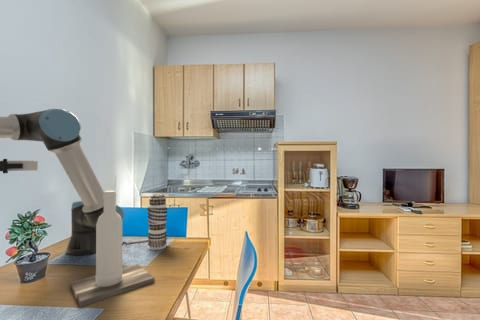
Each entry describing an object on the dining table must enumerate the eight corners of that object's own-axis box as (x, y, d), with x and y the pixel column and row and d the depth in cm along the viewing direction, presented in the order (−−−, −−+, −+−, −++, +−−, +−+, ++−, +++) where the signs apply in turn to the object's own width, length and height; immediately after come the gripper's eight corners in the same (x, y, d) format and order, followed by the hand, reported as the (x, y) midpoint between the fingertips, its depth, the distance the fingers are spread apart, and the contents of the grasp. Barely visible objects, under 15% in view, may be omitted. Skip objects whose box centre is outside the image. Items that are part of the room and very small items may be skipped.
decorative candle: (145, 250, 117) (146, 196, 117) (148, 244, 126) (148, 193, 126) (166, 249, 119) (167, 195, 119) (167, 242, 128) (167, 193, 128)
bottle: (110, 289, 80) (110, 193, 79) (89, 285, 82) (90, 192, 81) (127, 277, 87) (128, 190, 87) (108, 274, 89) (108, 189, 89)
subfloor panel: (70, 286, 84) (70, 282, 84) (137, 267, 99) (137, 263, 99) (80, 306, 73) (80, 301, 73) (154, 281, 88) (154, 277, 88)
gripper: (-60, 177, 76) (32, 174, 91) (-80, 184, 58) (39, 179, 72) (-60, 152, 76) (32, 153, 91) (-80, 151, 58) (39, 153, 72)
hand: (35, 165), depth 82 cm, fingers open, 13 cm apart
